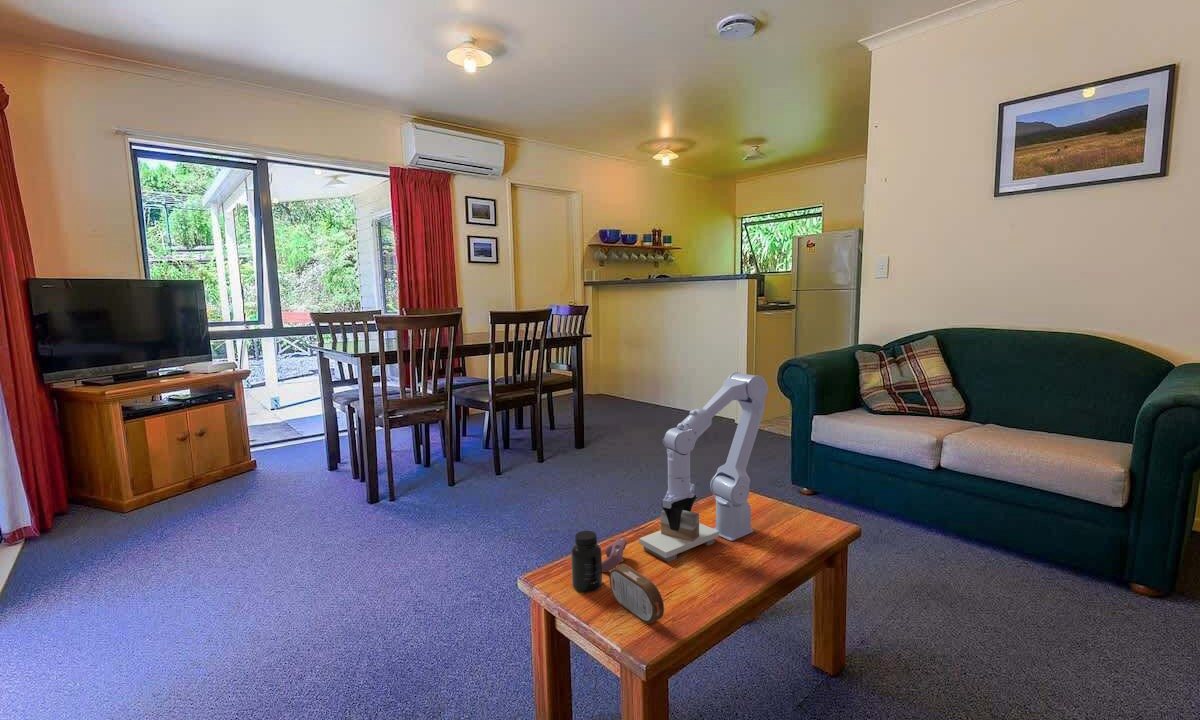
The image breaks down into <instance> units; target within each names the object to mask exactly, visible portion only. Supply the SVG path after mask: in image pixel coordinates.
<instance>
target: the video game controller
mask: <svg viewBox="0 0 1200 720" xmlns="http://www.w3.org/2000/svg"><path fill="white" fill-rule="evenodd" d="M627 542H628V541H627V540H626V539H624V538H620V537H618V538H617V539H616V540H615V541H613V542H612V543H611V544H609V545H608V546H606V548H605V551H604V553H605V555H606V556H607V557H606V558H605V559H604V560H602V573H607V572H610V571H611V570H612V569H614V568H616V567H618V566H619V564H620V563H621V564H623V562H624V561H625V560H624V558H625V557H623V555H624V550H625V549H626V546H627Z"/></svg>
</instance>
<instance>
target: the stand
mask: <svg viewBox="0 0 1200 720" xmlns="http://www.w3.org/2000/svg"><path fill="white" fill-rule="evenodd" d="M713 528H714V527H709V526H707V525H705V524H703V523H701V522H699V537H698V538H696V539H695V540H694V541H693V542H691V541H687V540H683V539H680V538H676V537H672V536H668V535H664V534H661V530H658V531H655V532H653V533H650V534H647V535H645V536H642V537H639V539H638V541H639V545H640V546H642V547H643V550H645V551H647V552H648V553H650V554H652V555H654V556H655V557H657V558H659V559H661V560H663V561H665V562H667V563H669V562H673V561H675V560H677V555H678V554H680V553H683V552H686V551H689V550H691V549H693V548H695V547H697V546H700V545H702V544H703V545H705V546H710V545H713V544H715V543H716V539H717V538H720V536H719V531H717V530H715V529H713Z"/></svg>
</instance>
